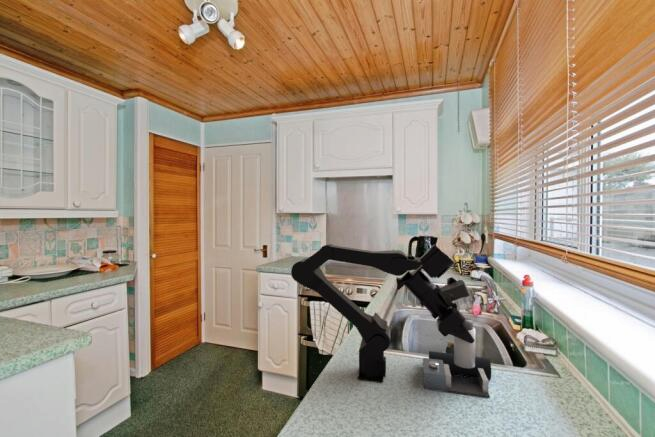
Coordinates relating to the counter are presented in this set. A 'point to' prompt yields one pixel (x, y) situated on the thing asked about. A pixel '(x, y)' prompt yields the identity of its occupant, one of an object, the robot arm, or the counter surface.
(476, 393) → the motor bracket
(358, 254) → the robot arm
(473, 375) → the pipe connector
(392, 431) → the counter surface
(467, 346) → the grey domed cylinder
